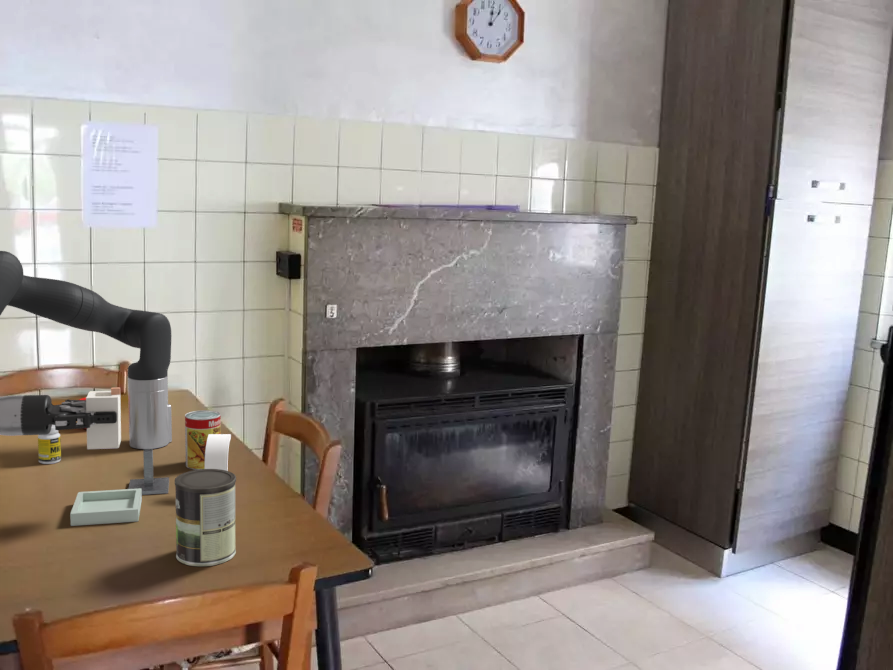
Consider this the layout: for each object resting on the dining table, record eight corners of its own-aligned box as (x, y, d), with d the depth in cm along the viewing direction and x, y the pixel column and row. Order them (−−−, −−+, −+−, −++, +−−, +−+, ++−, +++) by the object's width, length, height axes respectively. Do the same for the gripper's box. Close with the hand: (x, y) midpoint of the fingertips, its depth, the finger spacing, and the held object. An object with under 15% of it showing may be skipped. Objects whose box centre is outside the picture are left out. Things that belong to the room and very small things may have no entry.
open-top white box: (90, 440, 169) (89, 385, 168) (122, 439, 171) (121, 384, 169) (87, 449, 164) (85, 391, 162) (119, 448, 166) (118, 391, 164)
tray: (78, 503, 174) (78, 492, 174) (141, 499, 177) (141, 488, 177) (70, 525, 163) (70, 513, 162) (138, 521, 166) (138, 509, 166)
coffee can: (169, 567, 147) (168, 488, 144) (182, 542, 157) (181, 468, 155) (231, 567, 148) (230, 488, 145) (240, 542, 158) (240, 468, 156)
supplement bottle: (52, 465, 196) (51, 429, 195) (34, 463, 197) (32, 427, 196) (65, 459, 201) (64, 424, 200) (47, 457, 202) (46, 422, 200)
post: (130, 483, 187) (129, 445, 185) (169, 480, 189) (168, 443, 187) (127, 495, 179) (126, 456, 178) (168, 493, 181) (167, 454, 180)
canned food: (220, 469, 198) (220, 418, 196) (185, 470, 196) (184, 419, 194) (221, 458, 205) (220, 409, 203) (186, 460, 203) (185, 410, 201)
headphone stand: (231, 488, 186) (231, 434, 184) (227, 498, 180) (226, 442, 178) (209, 488, 185) (208, 434, 183) (204, 498, 179) (204, 442, 177)
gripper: (14, 405, 155) (114, 403, 160) (29, 387, 169) (121, 385, 174) (15, 445, 156) (115, 442, 161) (30, 424, 170) (121, 422, 175)
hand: (117, 413), depth 167 cm, fingers closed on open-top white box, 5 cm apart
